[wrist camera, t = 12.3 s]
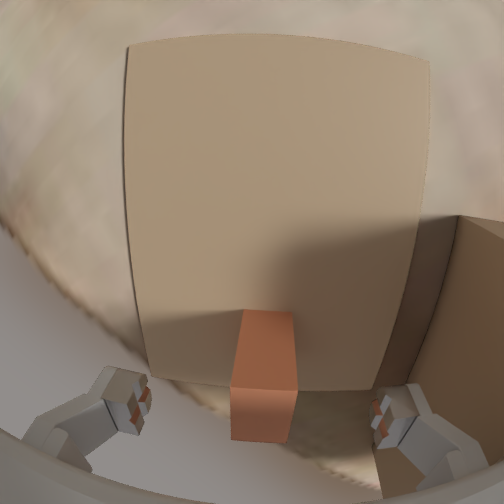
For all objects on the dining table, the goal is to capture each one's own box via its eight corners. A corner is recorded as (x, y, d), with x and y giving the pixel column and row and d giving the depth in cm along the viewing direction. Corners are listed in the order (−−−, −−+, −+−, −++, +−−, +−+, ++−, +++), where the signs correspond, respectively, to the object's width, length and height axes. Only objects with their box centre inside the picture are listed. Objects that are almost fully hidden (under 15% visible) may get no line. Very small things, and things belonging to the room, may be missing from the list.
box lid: (137, 49, 10) (62, 11, 5) (420, 65, 9) (498, 35, 4) (156, 366, 15) (122, 440, 10) (367, 379, 15) (390, 457, 10)
